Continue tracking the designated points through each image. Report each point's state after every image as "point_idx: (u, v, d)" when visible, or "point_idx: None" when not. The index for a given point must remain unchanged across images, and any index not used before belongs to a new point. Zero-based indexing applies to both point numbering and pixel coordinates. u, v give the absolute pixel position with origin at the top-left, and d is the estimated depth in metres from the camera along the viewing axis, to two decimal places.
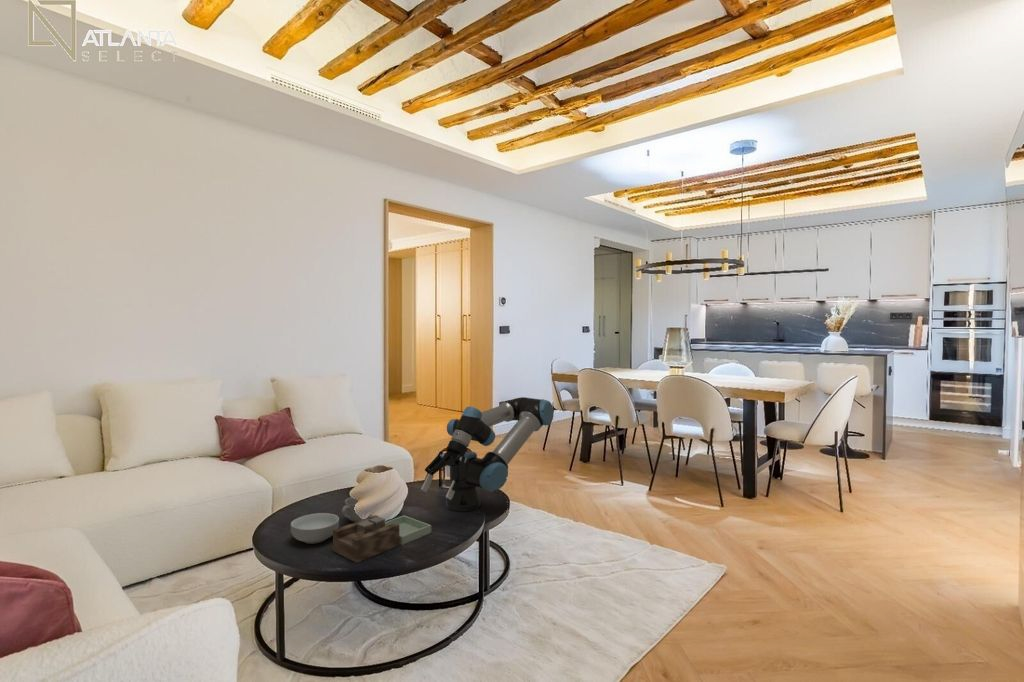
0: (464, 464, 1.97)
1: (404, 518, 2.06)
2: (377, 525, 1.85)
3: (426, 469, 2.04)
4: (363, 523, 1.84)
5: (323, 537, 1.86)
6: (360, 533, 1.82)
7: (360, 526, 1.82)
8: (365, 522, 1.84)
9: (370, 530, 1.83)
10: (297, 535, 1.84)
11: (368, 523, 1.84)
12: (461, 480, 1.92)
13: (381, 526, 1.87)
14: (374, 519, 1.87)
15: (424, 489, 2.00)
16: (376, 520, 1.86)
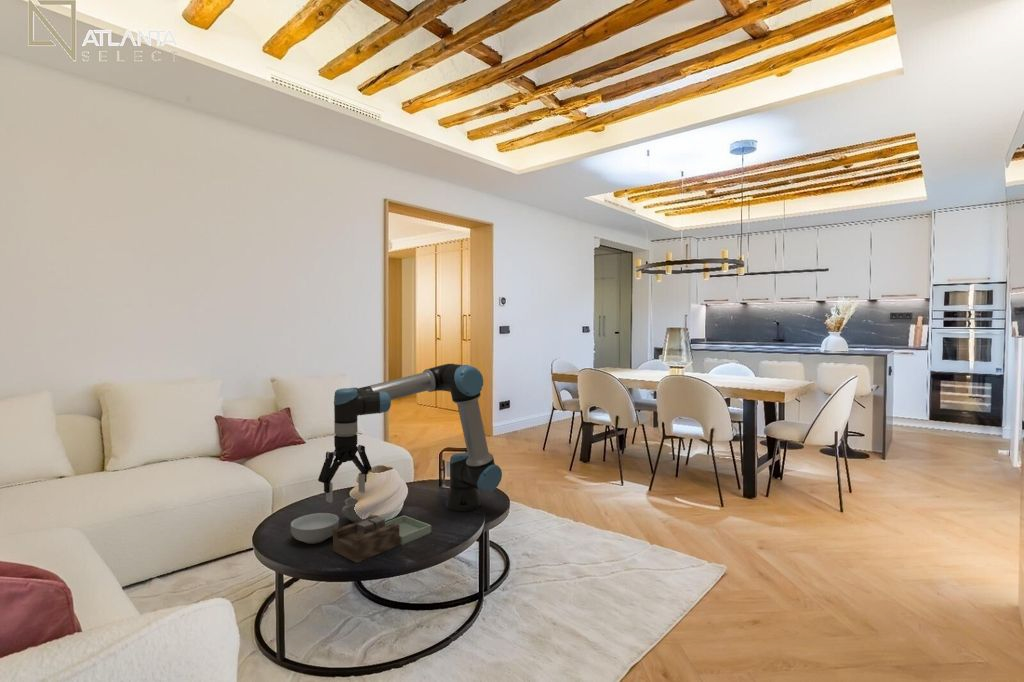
0: (327, 460, 1.71)
1: (404, 518, 2.06)
2: (377, 525, 1.85)
3: (365, 467, 1.84)
4: (363, 523, 1.84)
5: (323, 537, 1.86)
6: (360, 533, 1.82)
7: (360, 526, 1.82)
8: (365, 522, 1.84)
9: (370, 530, 1.83)
10: (297, 535, 1.84)
11: (368, 523, 1.84)
12: (319, 481, 1.70)
13: (381, 526, 1.87)
14: (374, 519, 1.87)
15: (360, 490, 1.82)
16: (376, 520, 1.86)
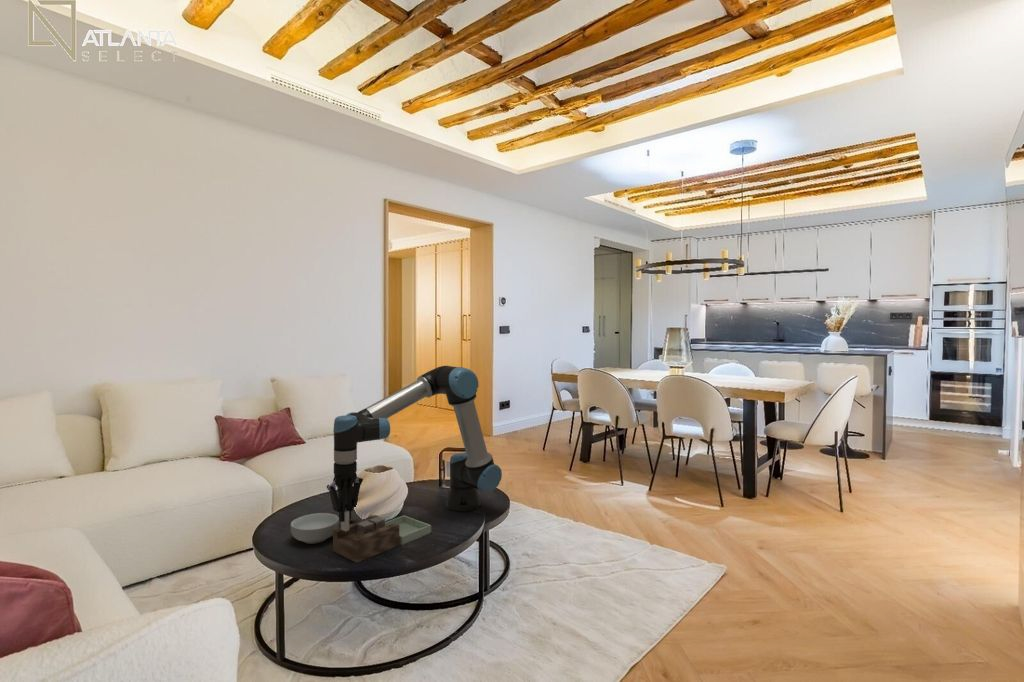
0: (331, 493, 1.73)
1: (404, 518, 2.06)
2: (377, 525, 1.85)
3: None
4: (363, 523, 1.84)
5: (323, 537, 1.86)
6: (360, 533, 1.82)
7: (360, 526, 1.82)
8: (365, 522, 1.84)
9: (370, 530, 1.83)
10: (297, 535, 1.84)
11: (368, 523, 1.84)
12: (334, 510, 1.75)
13: (381, 526, 1.87)
14: (374, 519, 1.87)
15: None
16: (376, 520, 1.86)
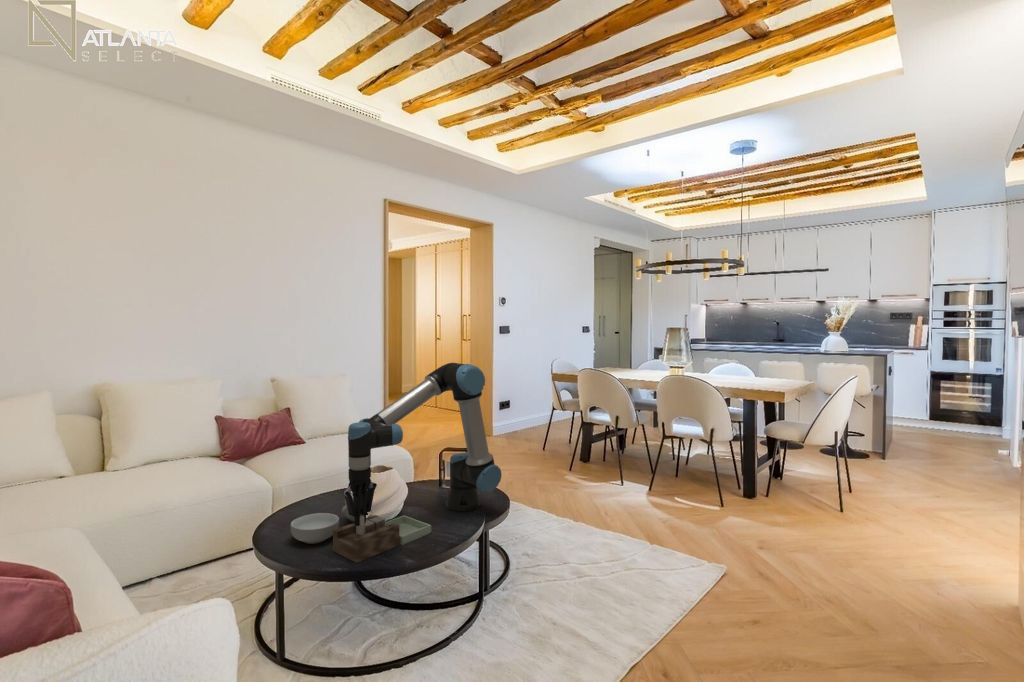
0: (347, 498, 1.77)
1: (404, 518, 2.06)
2: (377, 525, 1.85)
3: None
4: None
5: (323, 537, 1.86)
6: None
7: None
8: (366, 522, 1.85)
9: (371, 530, 1.83)
10: (297, 535, 1.84)
11: (369, 523, 1.84)
12: None
13: (381, 526, 1.87)
14: (374, 519, 1.87)
15: None
16: (376, 520, 1.86)
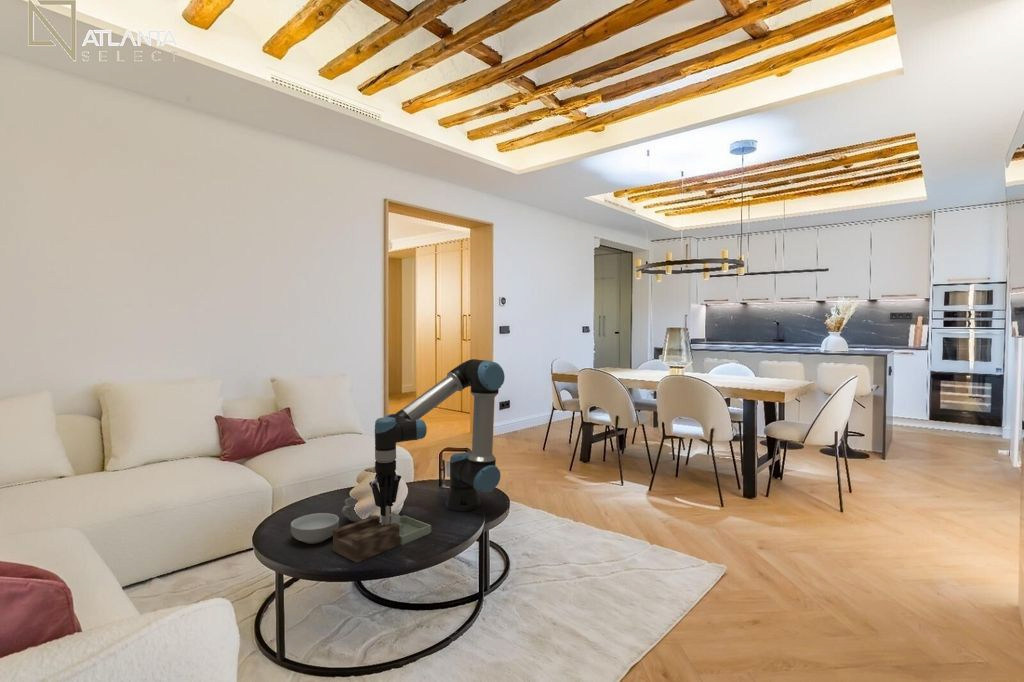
0: (374, 490, 1.86)
1: (404, 518, 2.06)
2: (400, 526, 1.94)
3: None
4: (390, 514, 1.93)
5: (323, 537, 1.86)
6: None
7: None
8: (392, 513, 1.94)
9: (396, 521, 1.92)
10: (297, 535, 1.84)
11: (395, 514, 1.93)
12: (376, 505, 1.88)
13: None
14: None
15: None
16: None
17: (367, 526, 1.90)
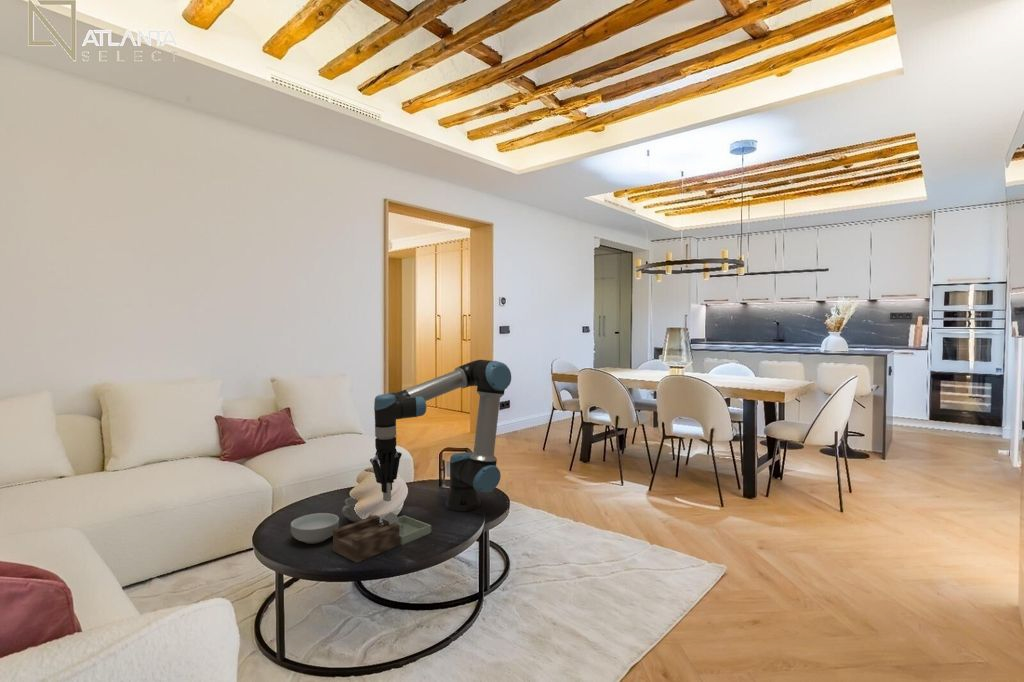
0: (374, 466, 1.86)
1: (404, 518, 2.06)
2: (400, 526, 1.94)
3: None
4: (387, 517, 1.92)
5: (323, 537, 1.86)
6: None
7: (385, 521, 1.91)
8: (389, 515, 1.93)
9: (395, 521, 1.92)
10: (297, 535, 1.84)
11: (392, 516, 1.92)
12: (377, 482, 1.88)
13: None
14: None
15: None
16: None
17: (367, 526, 1.90)
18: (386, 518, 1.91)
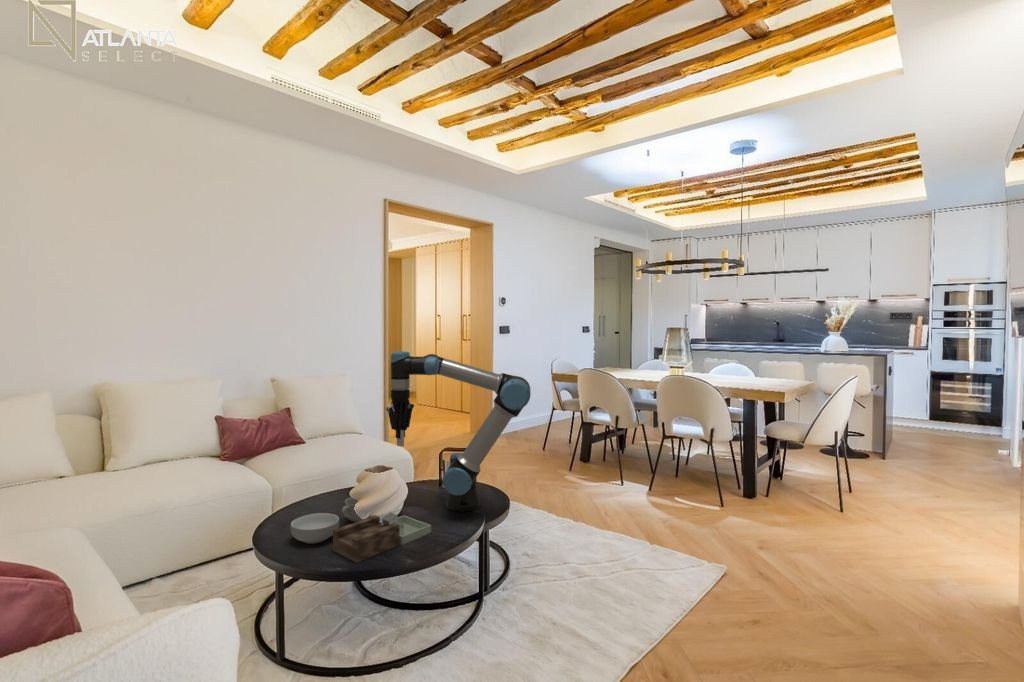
0: (390, 414, 2.09)
1: (404, 518, 2.06)
2: (400, 526, 1.94)
3: None
4: (387, 517, 1.92)
5: (323, 537, 1.86)
6: None
7: (385, 521, 1.91)
8: (389, 515, 1.93)
9: (395, 521, 1.92)
10: (297, 535, 1.84)
11: (392, 516, 1.92)
12: None
13: None
14: None
15: None
16: None
17: (367, 526, 1.90)
18: (386, 518, 1.91)
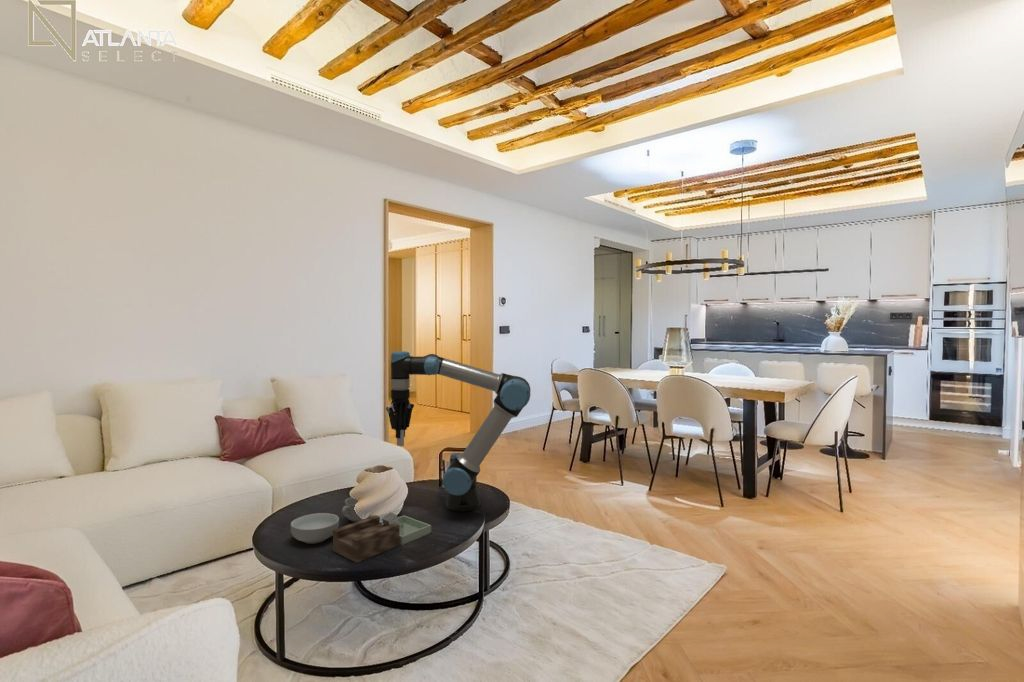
0: (390, 414, 2.09)
1: (404, 518, 2.06)
2: (400, 526, 1.94)
3: None
4: (387, 517, 1.92)
5: (323, 537, 1.86)
6: None
7: (385, 521, 1.91)
8: (389, 515, 1.93)
9: (395, 521, 1.92)
10: (297, 535, 1.84)
11: (392, 516, 1.92)
12: (392, 428, 2.11)
13: None
14: None
15: None
16: None
17: (367, 526, 1.90)
18: (386, 518, 1.91)
